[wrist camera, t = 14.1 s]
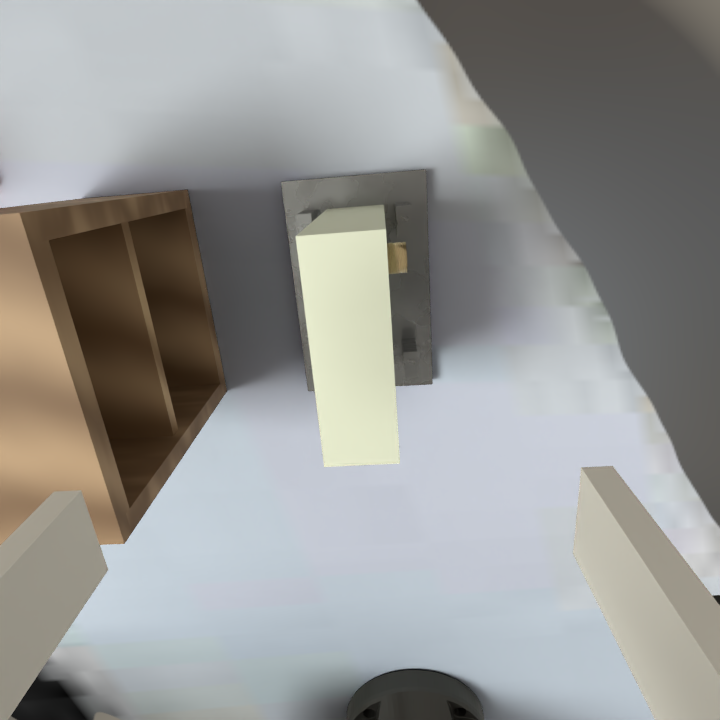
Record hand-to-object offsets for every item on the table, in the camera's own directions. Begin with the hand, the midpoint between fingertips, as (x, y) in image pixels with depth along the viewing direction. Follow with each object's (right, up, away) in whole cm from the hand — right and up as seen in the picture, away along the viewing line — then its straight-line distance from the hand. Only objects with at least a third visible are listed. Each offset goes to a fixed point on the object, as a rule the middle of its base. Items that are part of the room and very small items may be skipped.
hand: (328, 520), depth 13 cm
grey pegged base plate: (+1, +10, +25) cm, 27 cm away
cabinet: (-15, +9, +26) cm, 31 cm away
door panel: (+1, +9, +24) cm, 26 cm away
